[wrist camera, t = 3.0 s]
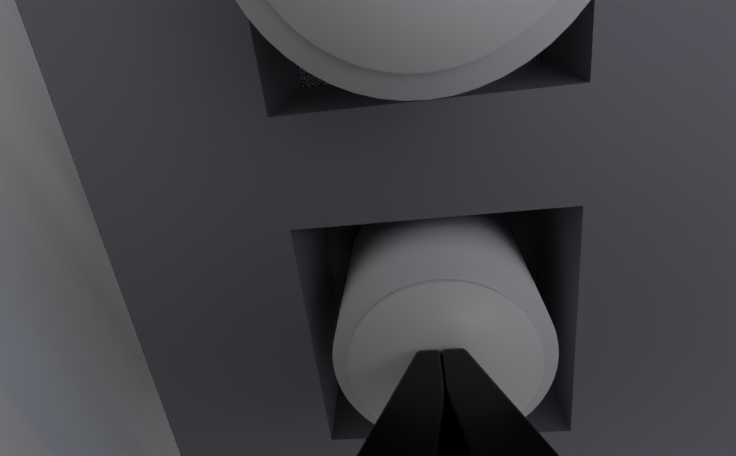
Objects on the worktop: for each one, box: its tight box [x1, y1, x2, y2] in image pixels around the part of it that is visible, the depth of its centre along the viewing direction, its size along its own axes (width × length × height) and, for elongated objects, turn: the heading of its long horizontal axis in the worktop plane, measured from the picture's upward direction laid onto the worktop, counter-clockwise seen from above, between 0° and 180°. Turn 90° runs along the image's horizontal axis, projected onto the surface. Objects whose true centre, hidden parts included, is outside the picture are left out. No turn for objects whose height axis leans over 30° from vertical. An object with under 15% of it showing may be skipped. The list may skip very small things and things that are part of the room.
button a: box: [332, 213, 559, 425], centre depth 11 cm, size 4×4×4 cm
